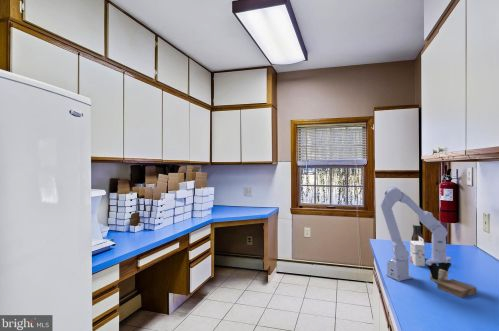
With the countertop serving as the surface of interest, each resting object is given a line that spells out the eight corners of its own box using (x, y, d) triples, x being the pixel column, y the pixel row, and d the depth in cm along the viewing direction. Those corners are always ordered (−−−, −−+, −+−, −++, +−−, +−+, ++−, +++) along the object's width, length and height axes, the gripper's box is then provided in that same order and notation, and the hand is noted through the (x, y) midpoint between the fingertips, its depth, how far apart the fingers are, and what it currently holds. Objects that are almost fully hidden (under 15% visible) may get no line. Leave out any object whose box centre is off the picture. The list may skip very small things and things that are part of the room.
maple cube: (440, 284, 134) (440, 273, 134) (430, 280, 139) (430, 269, 139) (447, 282, 136) (447, 271, 136) (437, 278, 141) (437, 268, 141)
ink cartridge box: (409, 260, 166) (409, 235, 166) (419, 261, 165) (419, 235, 165) (415, 266, 158) (414, 239, 158) (425, 266, 157) (424, 239, 157)
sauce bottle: (420, 256, 173) (419, 223, 173) (426, 260, 167) (426, 225, 167) (409, 256, 173) (408, 223, 173) (415, 260, 167) (415, 225, 166)
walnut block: (460, 298, 120) (460, 291, 120) (437, 289, 130) (437, 282, 130) (476, 294, 124) (476, 287, 124) (452, 285, 133) (452, 279, 133)
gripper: (436, 253, 131) (436, 283, 131) (457, 249, 136) (457, 278, 136) (421, 249, 138) (422, 278, 138) (442, 246, 143) (443, 273, 143)
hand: (438, 278), depth 137 cm, fingers closed on maple cube, 5 cm apart
